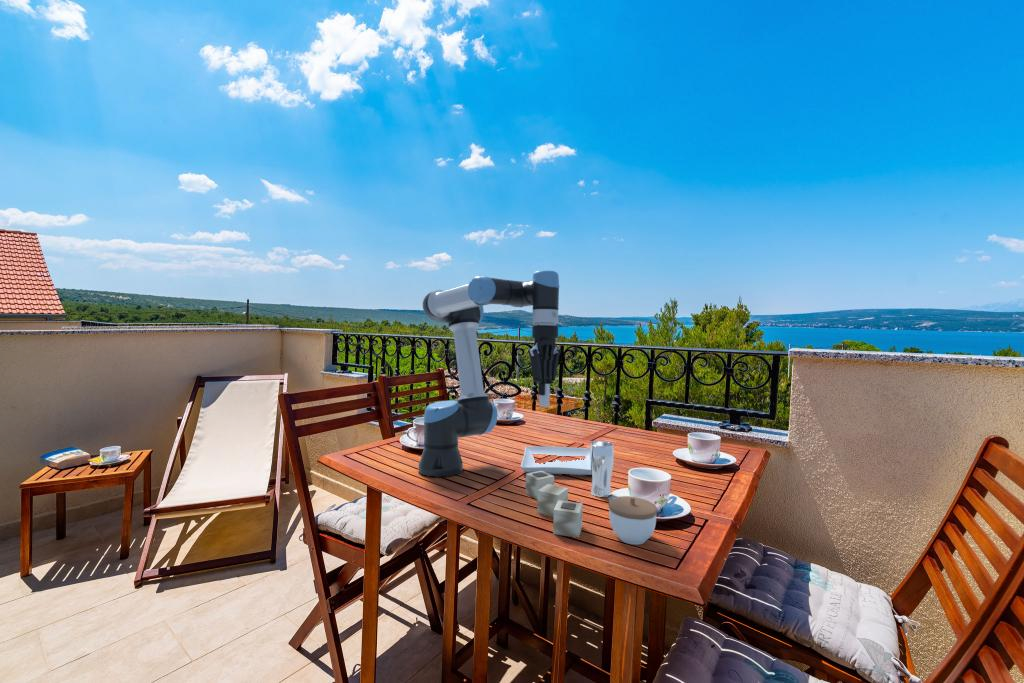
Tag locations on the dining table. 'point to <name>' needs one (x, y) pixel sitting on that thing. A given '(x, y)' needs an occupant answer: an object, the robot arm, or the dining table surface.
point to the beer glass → (601, 467)
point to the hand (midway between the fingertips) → (544, 406)
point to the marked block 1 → (537, 482)
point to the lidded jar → (632, 519)
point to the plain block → (550, 498)
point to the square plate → (557, 461)
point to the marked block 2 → (567, 518)
